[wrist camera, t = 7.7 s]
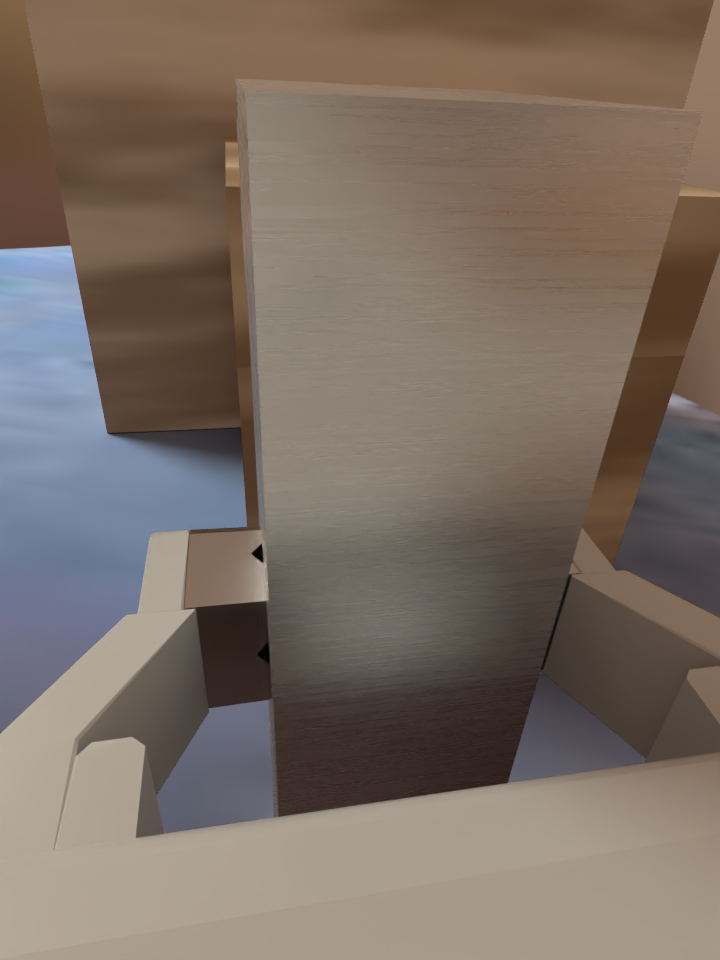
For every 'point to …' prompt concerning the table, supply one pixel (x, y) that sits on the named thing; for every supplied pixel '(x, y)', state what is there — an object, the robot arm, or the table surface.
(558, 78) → the tan blocky piece
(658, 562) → the table surface
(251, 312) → the grey brown tall block
